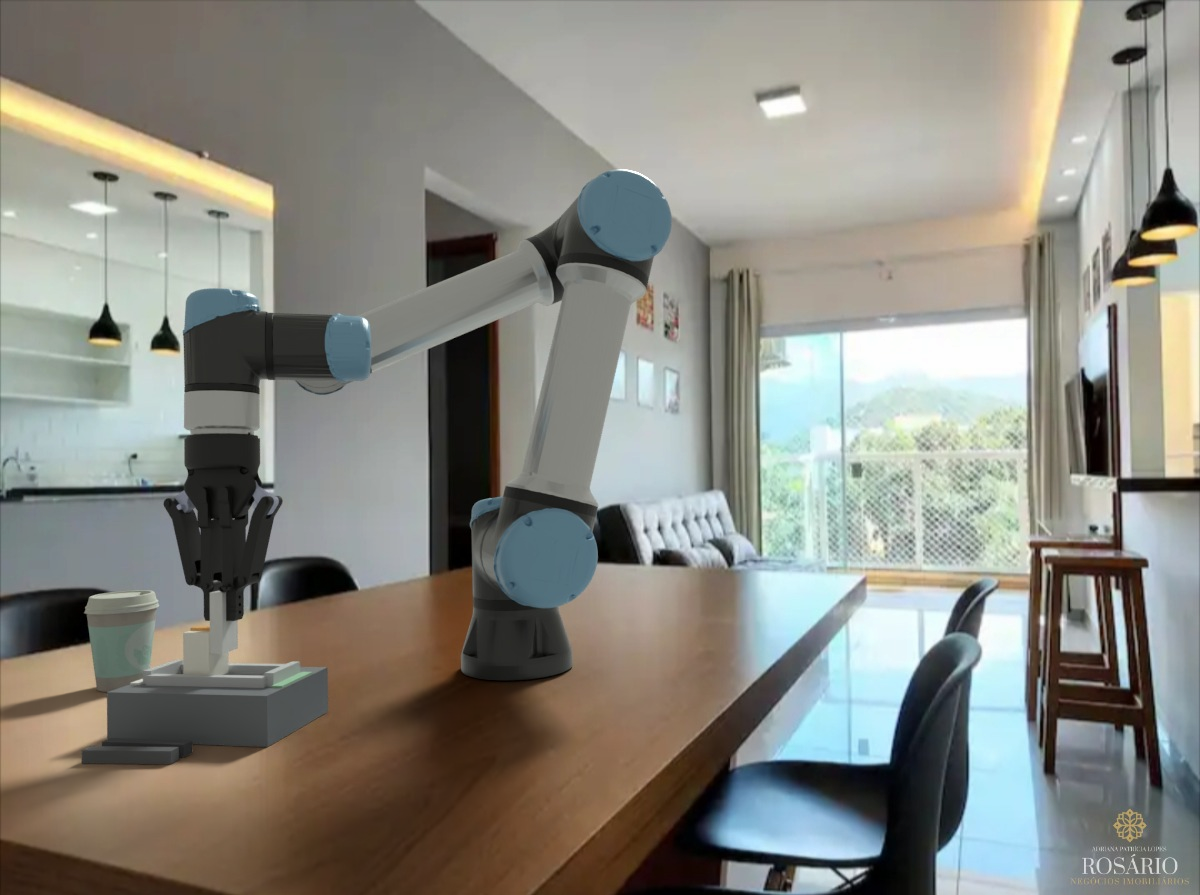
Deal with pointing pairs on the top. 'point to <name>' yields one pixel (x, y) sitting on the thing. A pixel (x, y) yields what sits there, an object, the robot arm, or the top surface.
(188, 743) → the dark grey long bar
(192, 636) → the white upright block
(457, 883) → the top surface
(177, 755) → the dark gray bar
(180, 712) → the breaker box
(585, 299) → the robot arm
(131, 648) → the coffee cup
